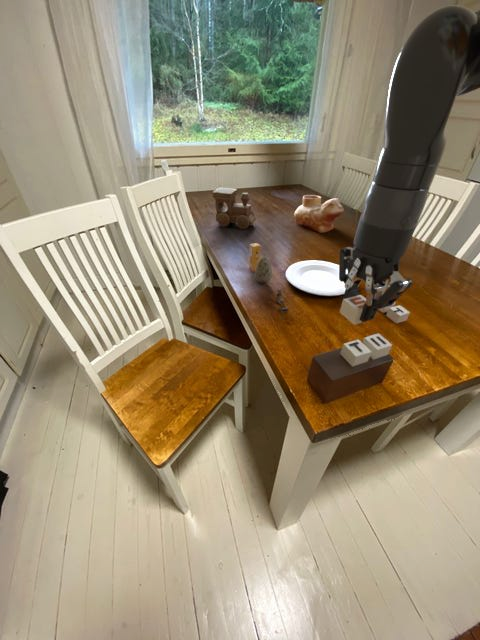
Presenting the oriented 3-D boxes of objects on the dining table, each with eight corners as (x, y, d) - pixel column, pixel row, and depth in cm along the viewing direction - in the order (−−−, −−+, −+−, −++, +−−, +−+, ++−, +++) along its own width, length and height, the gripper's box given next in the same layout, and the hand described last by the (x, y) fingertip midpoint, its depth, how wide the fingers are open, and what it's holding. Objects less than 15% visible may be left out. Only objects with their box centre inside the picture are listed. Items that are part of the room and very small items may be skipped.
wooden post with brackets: (279, 294, 90) (282, 286, 86) (284, 315, 86) (288, 308, 82) (273, 294, 90) (276, 287, 86) (279, 316, 86) (282, 309, 82)
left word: (387, 354, 59) (392, 344, 57) (352, 366, 56) (356, 356, 54) (374, 343, 62) (378, 332, 60) (340, 353, 59) (343, 343, 57)
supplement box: (256, 266, 107) (257, 242, 101) (259, 270, 104) (261, 245, 98) (248, 268, 106) (249, 243, 100) (251, 272, 103) (252, 247, 97)
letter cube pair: (406, 320, 81) (411, 312, 79) (395, 323, 80) (399, 315, 78) (383, 303, 88) (386, 295, 86) (372, 306, 87) (375, 298, 85)
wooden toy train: (213, 226, 141) (211, 191, 130) (221, 219, 149) (220, 186, 139) (250, 231, 136) (251, 195, 126) (256, 223, 145) (257, 189, 134)
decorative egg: (260, 276, 101) (261, 251, 95) (274, 281, 98) (276, 255, 92) (251, 283, 97) (252, 257, 91) (265, 288, 94) (267, 262, 88)
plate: (289, 299, 89) (290, 294, 88) (281, 263, 109) (282, 259, 108) (365, 300, 89) (367, 295, 88) (343, 264, 109) (345, 260, 108)
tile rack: (382, 382, 63) (394, 359, 58) (324, 404, 58) (332, 380, 53) (361, 361, 68) (371, 338, 63) (306, 379, 64) (312, 356, 59)
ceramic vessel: (328, 236, 131) (336, 204, 122) (287, 222, 146) (291, 192, 137) (344, 229, 138) (352, 198, 129) (303, 216, 154) (308, 188, 144)
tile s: (371, 319, 49) (376, 305, 47) (353, 324, 48) (358, 310, 46) (356, 307, 52) (360, 294, 50) (339, 312, 51) (343, 298, 49)
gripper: (453, 231, 35) (402, 331, 46) (373, 202, 45) (347, 289, 56) (409, 239, 33) (367, 343, 44) (336, 206, 43) (316, 296, 54)
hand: (356, 312), depth 50 cm, fingers closed on tile s, 4 cm apart
